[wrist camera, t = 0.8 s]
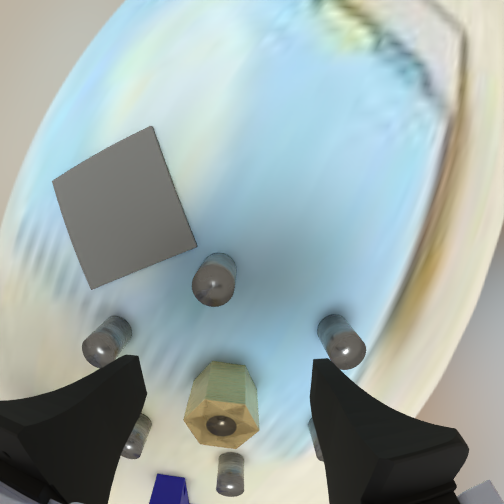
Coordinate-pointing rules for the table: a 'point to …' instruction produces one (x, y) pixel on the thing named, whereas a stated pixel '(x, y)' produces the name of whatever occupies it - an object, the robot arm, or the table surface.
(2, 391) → the table surface
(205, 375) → the brass nut
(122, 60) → the table surface
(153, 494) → the cable clip
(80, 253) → the mat
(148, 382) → the table surface
